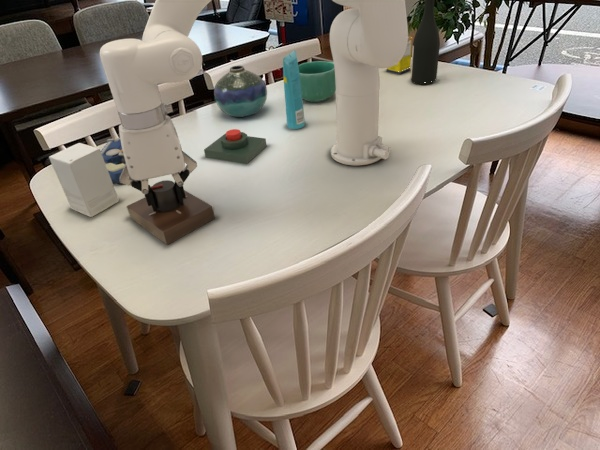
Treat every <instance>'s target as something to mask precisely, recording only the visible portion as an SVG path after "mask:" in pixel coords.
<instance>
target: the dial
mask: <svg viewBox="0 0 600 450" xmlns="http://www.w3.org/2000/svg"><path fill="white" fill-rule="evenodd" d="M174 182H175V181H172V180H167V179H166V180H165V179H164V180H161V181H160V180H159V181H157V182H156V183H154V184H153V185H150V187H151V189H152V193H153V196H154V199H155V202H156V206H157V209H158V210H159V211H162V212H168V211H172V210H175V209H176V208H178V207H179V205H180V203H179V199H178V196H177V192H176V188H175V183H174Z"/></svg>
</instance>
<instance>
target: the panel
mask: <svg viewBox="0 0 600 450" xmlns="http://www.w3.org/2000/svg"><path fill="white" fill-rule="evenodd" d="M184 192H185V196H186V198H183V203H184V204H183V205H181V204H180V205H179V207H178V208H176V209H175V210H172V211H168V212H162V211H159V210H158V209H157V210H156V211H153V208H152V205H151V206H148V203H147V200H146V197H145V196H144V197H143V198H140V199H138V200H137V201H134V202H131V203H129V204H128V205H126V209H127V211H128V214H129V217H130V219H131V220H133V221H134V222H135V223H137V224H138V225H139V226H140V227H142V228H144V229H145V230H146V231H148V232H149V233H150V234H152V235H153V236H154V237H156V238H157V239H159V240H160V241H161V242H162V243H164V244H165V245H167V246H168V245H170V244H171V243H174V242H175V241H177V240H179V239H180V238H182V237H184V236H186V235H188V234H190V233H192V232H194V231H195V230H197V229H199V228H200V227H202V226H205V225H206V224H207V223H209V222H211V221H213V220H215V219H216V217H215V213H214V208H213V205H211V204H209V203H208V202H207V201H204V200H202V199H201V198H199V197H197V196H195V195H194V194H192V193H190V192H188V191H187V190H185V189H184Z"/></svg>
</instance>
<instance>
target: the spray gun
mask: <svg viewBox="0 0 600 450" xmlns="http://www.w3.org/2000/svg"><path fill="white" fill-rule="evenodd" d="M100 151H101V153H102V156H103V159H104V162H105V164H106V167H107V170H108V172H109V175H110V178H111V180H112V183H116V184H121V183H120V181H119V178H120V175H121V173H122V170H123V168H124V166H125V163H126V162H125V158H124V154H123V150H122V145H121V140H120V137H115V138H114V137H113V138H108V139H106V144H105V145H104V146H103V148H102V149H100ZM129 176H130V175H129Z"/></svg>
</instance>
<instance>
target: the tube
mask: <svg viewBox="0 0 600 450" xmlns="http://www.w3.org/2000/svg"><path fill="white" fill-rule="evenodd" d="M298 61H299V60H298V55H297V51H296V50H295V49H294V50H293V51H291V52H290V53H289V54H287V55H285V56H284V57H283V58H282V74H283V89H284V90H283V91H284V101H285V113H286V126H287V128H288V129H289V130H300V129H302V128H304V127H305V126H306V121H305V112H304V103H303V98H302V92H301V84H300V75H299V67H298V65H299V62H298Z"/></svg>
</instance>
